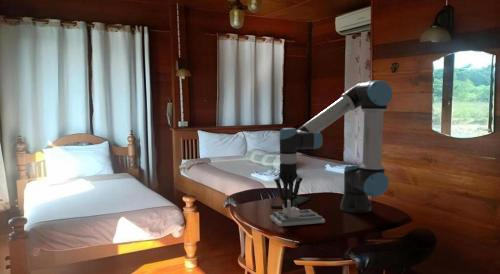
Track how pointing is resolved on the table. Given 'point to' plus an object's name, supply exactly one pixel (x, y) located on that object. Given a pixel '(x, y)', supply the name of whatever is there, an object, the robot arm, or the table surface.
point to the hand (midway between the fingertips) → (288, 214)
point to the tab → (294, 213)
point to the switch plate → (304, 218)
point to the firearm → (295, 202)
